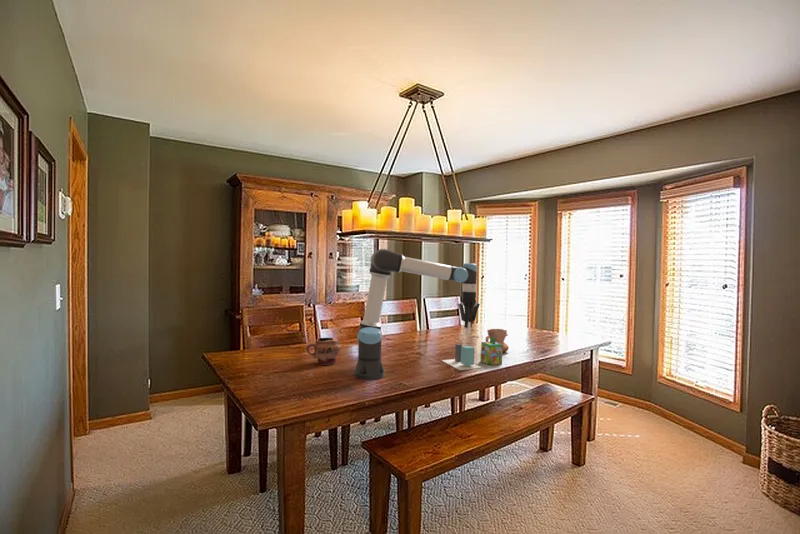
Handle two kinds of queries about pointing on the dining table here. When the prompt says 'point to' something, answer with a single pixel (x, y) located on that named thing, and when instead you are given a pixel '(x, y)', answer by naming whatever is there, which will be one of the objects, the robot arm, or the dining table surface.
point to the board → (460, 365)
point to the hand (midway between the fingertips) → (467, 333)
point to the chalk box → (491, 352)
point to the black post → (458, 352)
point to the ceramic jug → (498, 337)
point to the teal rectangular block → (467, 355)
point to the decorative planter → (325, 350)
